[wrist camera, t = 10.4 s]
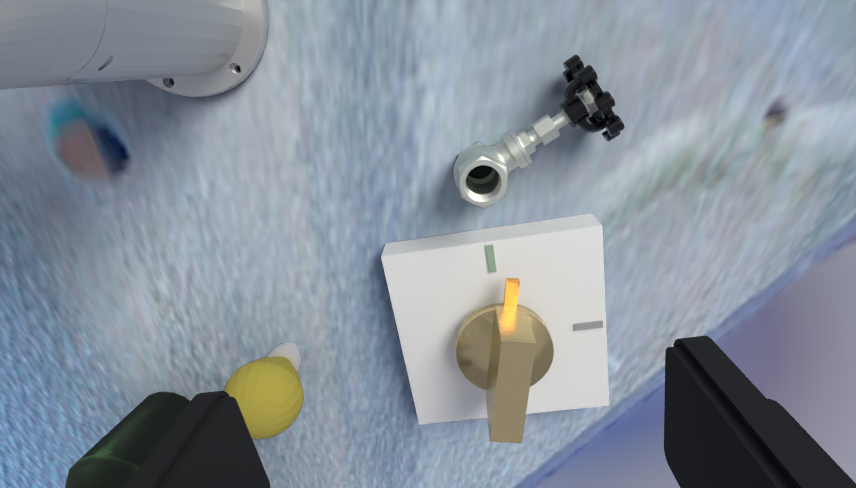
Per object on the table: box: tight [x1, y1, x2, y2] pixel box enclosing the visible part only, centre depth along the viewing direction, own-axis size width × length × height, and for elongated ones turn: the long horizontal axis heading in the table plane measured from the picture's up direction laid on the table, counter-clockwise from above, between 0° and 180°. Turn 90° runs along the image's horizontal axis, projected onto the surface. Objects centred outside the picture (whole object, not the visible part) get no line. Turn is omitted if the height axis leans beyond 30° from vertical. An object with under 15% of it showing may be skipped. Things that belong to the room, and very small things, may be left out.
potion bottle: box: [65, 392, 190, 488], centre depth 42 cm, size 8×8×18 cm
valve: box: [453, 55, 624, 209], centre depth 34 cm, size 7×7×12 cm
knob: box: [456, 278, 554, 443], centre depth 37 cm, size 11×8×8 cm
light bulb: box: [224, 342, 304, 439], centre depth 42 cm, size 7×7×10 cm
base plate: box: [381, 214, 609, 425], centre depth 42 cm, size 18×18×3 cm
